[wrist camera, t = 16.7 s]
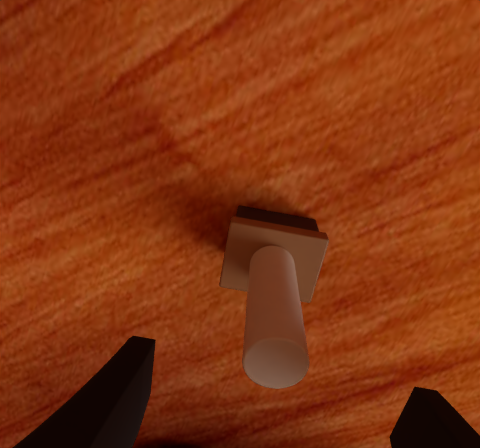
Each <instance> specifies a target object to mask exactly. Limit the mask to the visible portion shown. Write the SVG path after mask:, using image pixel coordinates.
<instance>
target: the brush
mask: <svg viewBox="0 0 480 448" xmlns="http://www.w3.org/2000/svg"><path fill="white" fill-rule="evenodd" d="M328 243H329V239H328V236H327V234H326V233H323V232H319V230H318V227H317V224H316V221H315V220H314V219H309V218H304V217H298V216H293V215H287V214H282V213H277V212H271V211H266V210H260V209H255V208H249V207H244V206H238V209H237V214H236V217H235V216H232V217H231V220H230V225H229V231H228V237H227V243H226V249H225V254H224V260H223V266H222V272H221V277H220V283H219V285H220V287H224V288H230V289H236V290H241V291H247V292H248V294H247V307H246V320H245V332H244V345H243V358H242V364H243V368H244V370H245V372H246V374H247V375H248V377H249V378H250V379H251V380H252V381H254V382H255V383H257V384H259V385H261V386H264V387H268V388H286V387H289V386H292V385H294V384H296V383H298V382H299V381H300V380H301V379H303V377H304V376H305V375H306V373H307V371H308V368H309V356H308V349H307V343H306V336H305V330H304V323H303V317H302V310H301V303H300V301H302V302H307V303H310V302H311V299H312V296H313V292H314V289H315V286H316V282H317V279H318V276H319V272H320V269H321V266H322V263H323V259H324V256H325V253H326V249H327V246H328Z"/></svg>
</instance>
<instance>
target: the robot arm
mask: <svg viewBox="0 0 480 448" xmlns="http://www.w3.org/2000/svg"><path fill="white" fill-rule="evenodd" d="M154 351H155V340H154V339H149V338H143V337H138V336H132V337H131V338H129V339H128V340H127V342H126V343H125V344H124V345H123V346H122V347H121V348H120V349H119V350H118V352H117V353H116V354H115V355H114V356H113V357H112V358H111V359H110V360H109V361H108V362H107V363H106V364H105V365H104V366H103V367H102V368H101V369H100V370H99V371H98V372H97V373H96V374H95V375H94V376H93V377H92V378H91V379H90V380H89V381H88V382H87V383H86V384H85V385H84V386H83V387H82V388H81V389H80V390H79V391H78V392H77V393H76V394H75V395H74V396H73V397H71V398H70V399H69V400H68V401H67V402H66V403H65V404H64V405H63V406H61V407H60V408H59V409H58V410H57V411H56V412H55V413H53V414H52V415H51V416H50V417H49V418H48V419H47V420H45V421H44V422H43V423H42V424H41V425H40V426H39V427H37V428H36V429H35V430H34V431H33V432H31V433H30V434H29V435H28V436H26V437H25V438H24V439H23V440H22V441H20V442H19V443H18V444H17V445H15V446H14V447H13V448H132V447H133V444H134V442H135V440H136V437H137V435H138V432H139V429H140V426H141V423H142V419H143V416H144V413H145V410H146V406H147V403H148V400H149V397H150V393H151V382H152V372H153V361H154ZM390 441H391V447H392V448H480V436H479V434H478V433H477V432H476V431H475V430H474V429H473V428H472V427H471V426H470V425H469V424H468V423H467V422H466V421H465V419H464V418H463V417H462V416H461V415H460V414H459V413H458V412H457V411H456V410H455V409H454V408H453V407H452V406H451V405H450V404H449V403H448V401H447V400H446V399H445V398H444V397H443V396H442V395H441V394H440V393H439V392H438V391H436V390H430V389H425V388H419V387H414V389H413V391H412V393H411V395H410V397H409V399H408V401H407V403H406V405H405V407H404V409H403V411H402V413H401V415H400V417H399V419H398V421H397V423H396V425H395V427H394V429H393V431H392V433H391V435H390Z"/></svg>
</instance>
